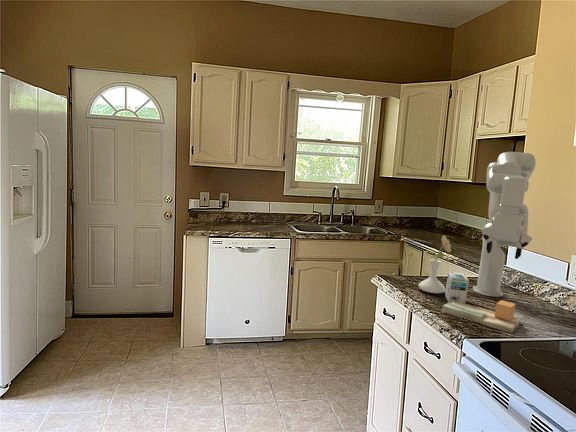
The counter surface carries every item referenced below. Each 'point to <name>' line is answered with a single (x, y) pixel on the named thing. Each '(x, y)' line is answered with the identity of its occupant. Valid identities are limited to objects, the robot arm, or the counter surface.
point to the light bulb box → (456, 287)
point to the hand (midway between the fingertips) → (502, 255)
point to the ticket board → (480, 316)
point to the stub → (504, 310)
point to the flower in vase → (435, 272)
